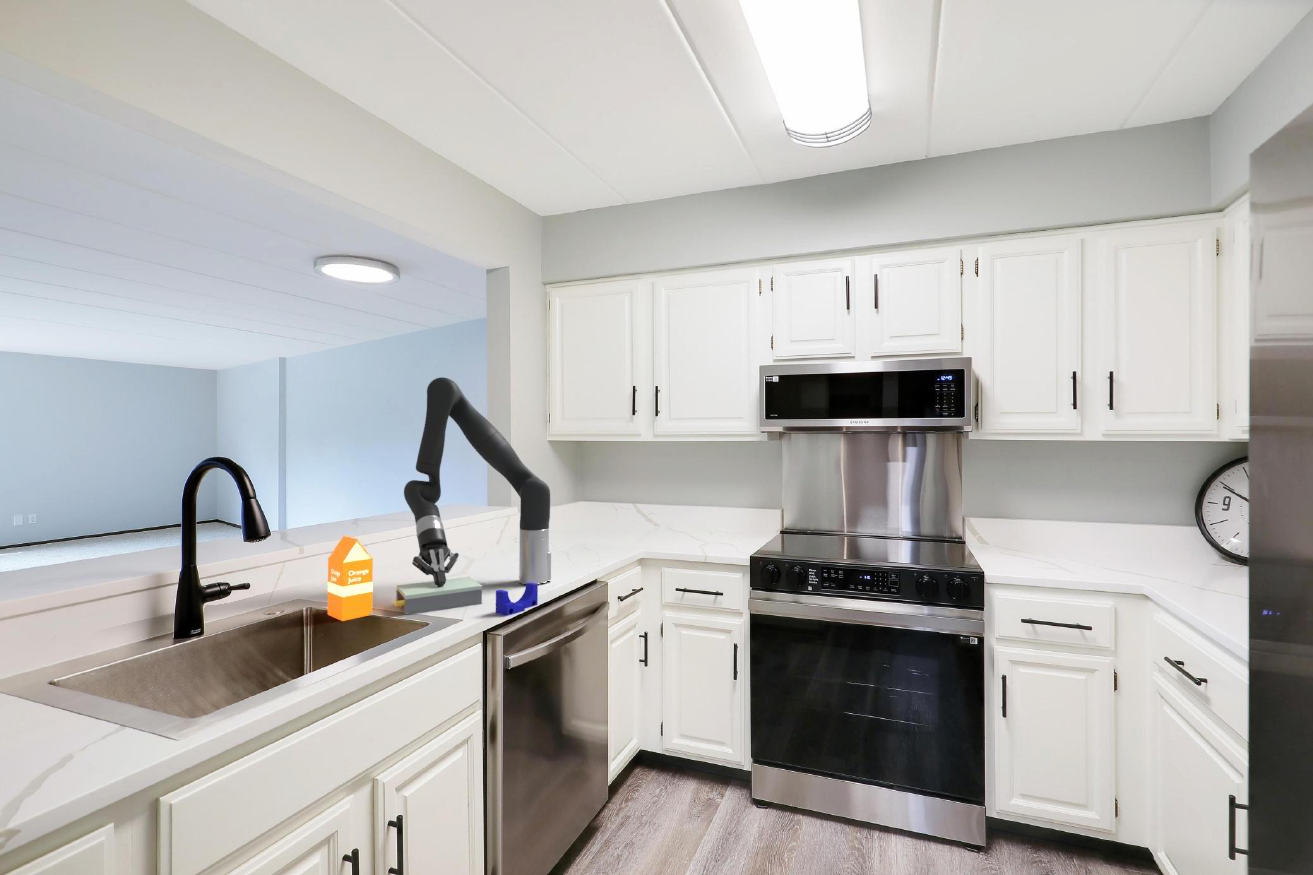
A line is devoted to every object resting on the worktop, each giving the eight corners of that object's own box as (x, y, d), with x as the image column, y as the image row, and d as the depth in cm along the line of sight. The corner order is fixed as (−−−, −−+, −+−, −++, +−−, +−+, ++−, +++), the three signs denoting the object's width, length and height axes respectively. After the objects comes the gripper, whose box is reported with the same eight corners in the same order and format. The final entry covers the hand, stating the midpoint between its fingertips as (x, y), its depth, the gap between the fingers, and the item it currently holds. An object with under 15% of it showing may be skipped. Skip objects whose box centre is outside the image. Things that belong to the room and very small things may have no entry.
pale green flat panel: (469, 580, 176) (469, 576, 176) (482, 589, 166) (482, 585, 166) (396, 589, 165) (396, 585, 165) (405, 599, 155) (405, 595, 155)
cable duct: (472, 593, 177) (472, 580, 177) (485, 602, 167) (485, 588, 167) (389, 605, 164) (389, 590, 164) (397, 615, 154) (398, 600, 154)
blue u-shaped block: (507, 616, 155) (507, 593, 155) (495, 613, 158) (495, 590, 158) (541, 606, 165) (541, 584, 165) (530, 603, 167) (530, 582, 167)
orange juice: (357, 608, 161) (358, 534, 161) (372, 614, 156) (373, 537, 156) (326, 614, 155) (327, 537, 155) (341, 621, 150) (342, 541, 150)
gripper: (409, 528, 169) (418, 579, 158) (456, 525, 176) (468, 574, 166) (404, 544, 173) (413, 595, 163) (451, 540, 180) (462, 589, 170)
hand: (441, 585), depth 164 cm, fingers closed
